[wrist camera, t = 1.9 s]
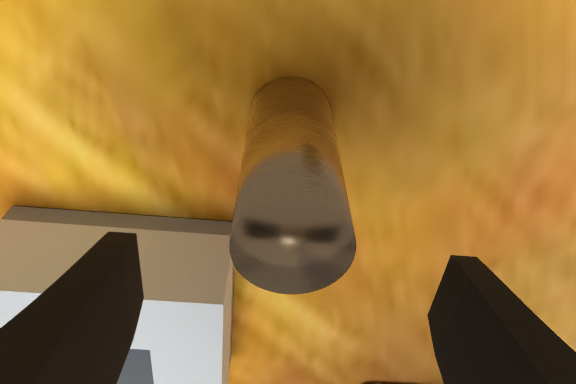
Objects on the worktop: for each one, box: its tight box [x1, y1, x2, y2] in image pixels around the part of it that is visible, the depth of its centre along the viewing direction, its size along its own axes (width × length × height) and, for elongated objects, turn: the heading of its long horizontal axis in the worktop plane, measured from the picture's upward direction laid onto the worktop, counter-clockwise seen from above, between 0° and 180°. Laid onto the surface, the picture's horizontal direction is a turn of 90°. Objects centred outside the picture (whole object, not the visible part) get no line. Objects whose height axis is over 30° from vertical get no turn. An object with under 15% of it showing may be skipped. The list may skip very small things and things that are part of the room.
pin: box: [229, 77, 356, 294], centre depth 15 cm, size 3×3×8 cm
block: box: [0, 206, 234, 384], centre depth 22 cm, size 10×10×5 cm
